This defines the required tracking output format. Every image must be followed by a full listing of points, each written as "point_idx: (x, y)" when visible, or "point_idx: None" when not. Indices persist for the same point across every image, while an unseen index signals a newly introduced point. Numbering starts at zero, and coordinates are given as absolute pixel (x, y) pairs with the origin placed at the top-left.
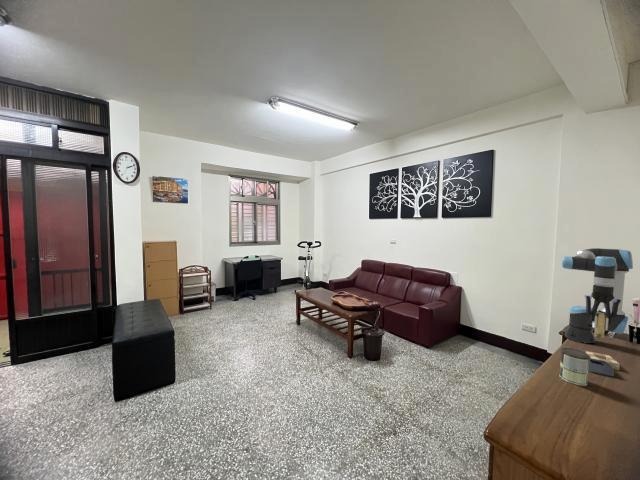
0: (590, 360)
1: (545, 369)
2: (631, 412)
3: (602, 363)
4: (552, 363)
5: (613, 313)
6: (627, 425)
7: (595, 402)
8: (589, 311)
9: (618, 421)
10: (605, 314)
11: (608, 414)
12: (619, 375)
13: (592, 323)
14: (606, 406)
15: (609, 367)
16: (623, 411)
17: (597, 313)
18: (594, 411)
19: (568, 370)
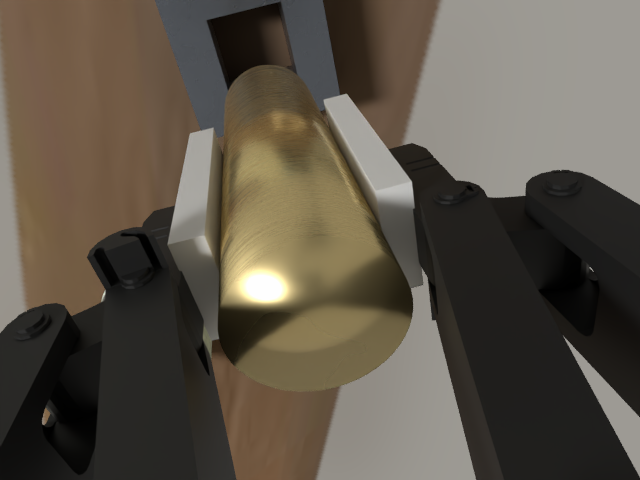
0: (217, 15)
1: (31, 292)
2: (329, 404)
3: (288, 35)
4: (25, 165)
5: (572, 337)
6: (305, 473)
7: (240, 424)
8: (82, 450)
9: (288, 472)
10: (394, 348)
11: (269, 460)
12: (368, 26)
13: (186, 156)
14: (268, 423)
15: (320, 92)
16: (309, 415)
17: (245, 366)
18: (236, 472)
19: None
